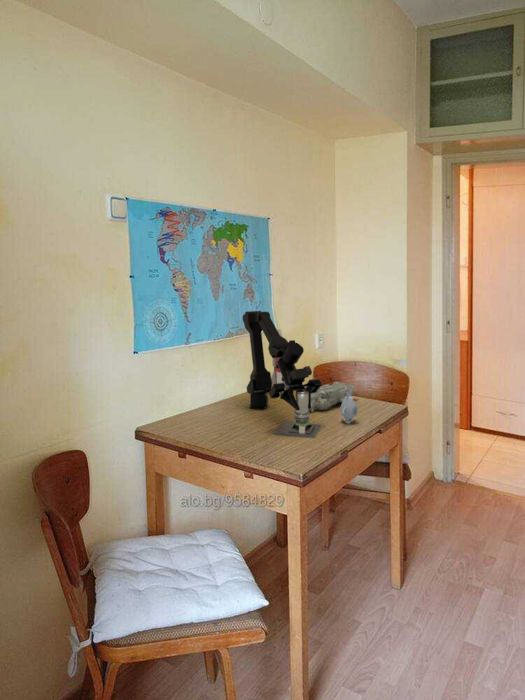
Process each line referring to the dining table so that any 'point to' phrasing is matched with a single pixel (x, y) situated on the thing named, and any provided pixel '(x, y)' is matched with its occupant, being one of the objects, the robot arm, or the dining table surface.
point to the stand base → (291, 430)
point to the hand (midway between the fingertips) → (304, 409)
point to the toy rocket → (276, 372)
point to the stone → (330, 395)
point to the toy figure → (348, 408)
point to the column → (302, 409)
